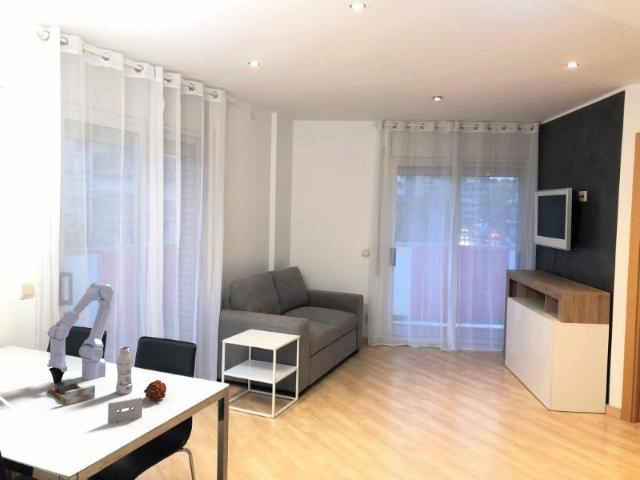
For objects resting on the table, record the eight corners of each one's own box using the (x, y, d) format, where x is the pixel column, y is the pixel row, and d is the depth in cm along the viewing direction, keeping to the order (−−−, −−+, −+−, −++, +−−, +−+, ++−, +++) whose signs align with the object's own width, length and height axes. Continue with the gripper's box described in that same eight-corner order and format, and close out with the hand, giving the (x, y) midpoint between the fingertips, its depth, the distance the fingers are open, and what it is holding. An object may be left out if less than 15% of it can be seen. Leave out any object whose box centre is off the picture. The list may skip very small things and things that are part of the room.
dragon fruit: (155, 409, 197) (152, 402, 208) (173, 394, 200) (169, 388, 211) (142, 393, 196) (140, 387, 206) (160, 378, 199) (157, 373, 210)
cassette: (141, 416, 186) (141, 396, 186) (142, 418, 185) (142, 398, 184) (107, 423, 179) (107, 402, 179) (108, 424, 178) (108, 404, 177)
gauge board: (73, 387, 212) (73, 373, 212) (94, 400, 199) (94, 385, 199) (46, 393, 204) (46, 379, 204) (66, 407, 191) (66, 392, 191)
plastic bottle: (135, 393, 208) (136, 347, 207) (123, 398, 202) (124, 351, 201) (124, 390, 211) (125, 345, 210) (112, 395, 205) (112, 348, 204)
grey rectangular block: (71, 387, 209) (72, 379, 208) (76, 390, 205) (77, 382, 205) (54, 391, 203) (54, 383, 203) (59, 395, 200) (59, 386, 200)
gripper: (41, 351, 211) (40, 381, 212) (54, 358, 202) (54, 390, 202) (58, 348, 216) (57, 378, 217) (72, 355, 207) (72, 386, 208)
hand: (57, 384), depth 210 cm, fingers closed
